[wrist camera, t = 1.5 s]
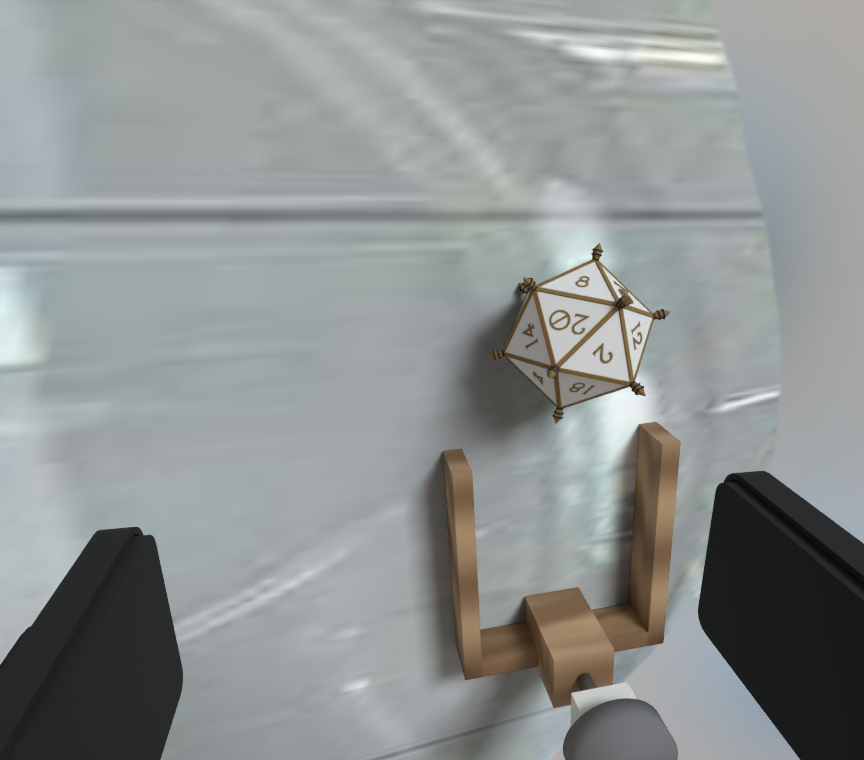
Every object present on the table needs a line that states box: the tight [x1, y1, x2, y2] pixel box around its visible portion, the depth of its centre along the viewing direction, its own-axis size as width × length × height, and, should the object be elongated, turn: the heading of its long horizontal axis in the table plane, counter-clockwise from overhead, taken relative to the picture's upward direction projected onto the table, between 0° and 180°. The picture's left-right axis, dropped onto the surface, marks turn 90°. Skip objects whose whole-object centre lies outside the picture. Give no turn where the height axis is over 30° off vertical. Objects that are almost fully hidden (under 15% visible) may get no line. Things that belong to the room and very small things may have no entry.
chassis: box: [443, 422, 681, 708], centre depth 39 cm, size 16×14×8 cm
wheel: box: [563, 682, 678, 760], centre depth 36 cm, size 6×6×4 cm
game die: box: [487, 243, 670, 423], centre depth 33 cm, size 9×8×10 cm
